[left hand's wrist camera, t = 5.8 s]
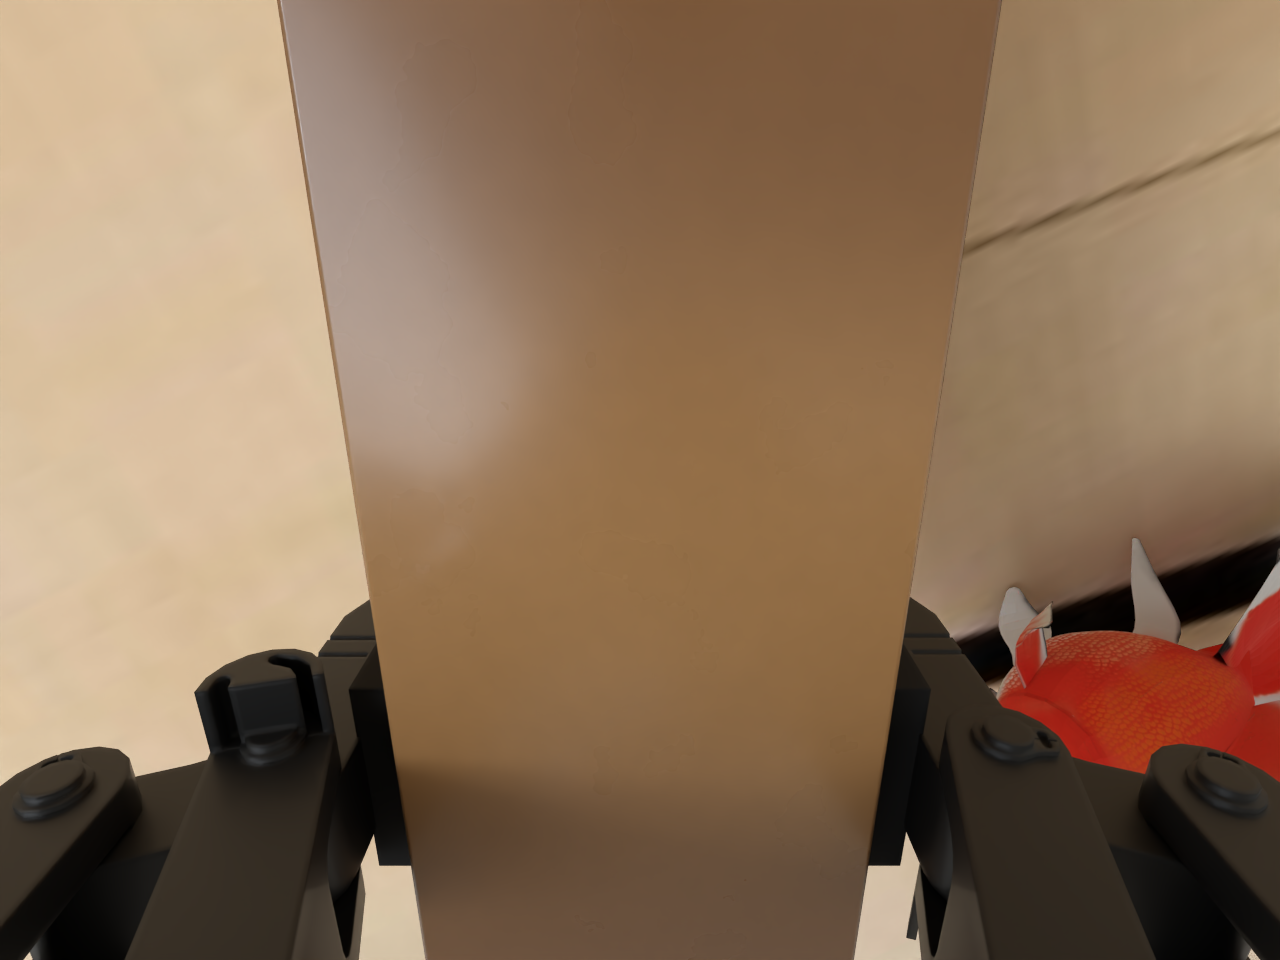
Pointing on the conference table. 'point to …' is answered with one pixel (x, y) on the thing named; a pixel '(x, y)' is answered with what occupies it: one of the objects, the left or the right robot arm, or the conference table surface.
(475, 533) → the bar
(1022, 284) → the conference table surface
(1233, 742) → the fish
